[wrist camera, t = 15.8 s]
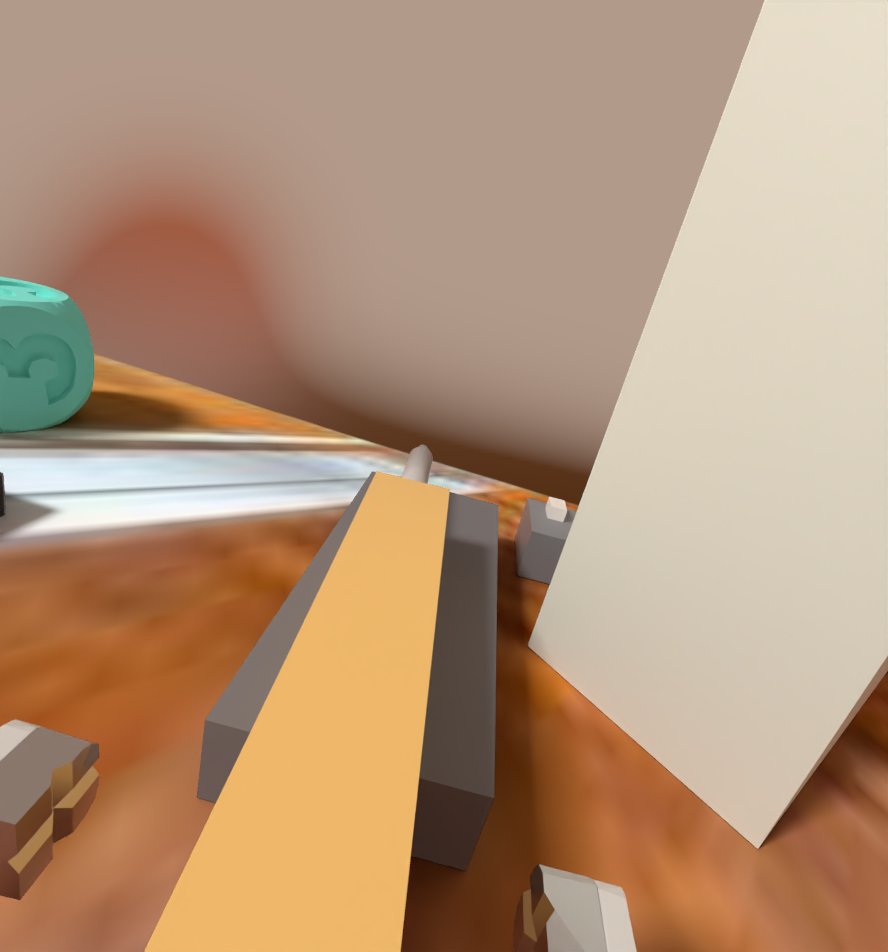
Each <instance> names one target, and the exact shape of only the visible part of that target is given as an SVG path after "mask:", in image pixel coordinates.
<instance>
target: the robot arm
mask: <svg viewBox="0 0 888 952" xmlns="http://www.w3.org/2000/svg"><path fill="white" fill-rule="evenodd" d="M98 758H99V744H98V743H94V742H91V741H88V740H84V739H81V738H77V737H74V736H71V735H67V734H64V733H60V732H57V731H54V730H50V729H47V728H44V727H41V726H37V725H34V724H30V723H27V722H23V721H19V720H16V719H15V720H13V721H11V722H9V723H7V724H5V725H3V726H1V727H0V895H1V896H5V897H9V898H13V899H17V900H21V899H22V897H23V896H24V895H25V893H26V892H27V891H28V890H29V888H30V887H31V886H32V884H33V883H34V882H35V881H36V879H37V878H38V877H39V876H40V874H41V873H42V872H43V870H44V869H45V868H46V867H47V865H48V864H49V863H50V861H51V860H52V859H53V849H54V843H55V842H57V841H59V840H61V839H62V838H64V837H66V836H68V835H70V834H71V833H73V832H74V830H75V829H76V828H77V826H78V825H79V824H80V823H81V821H82V820H83V819H84V817H85V816H86V814H87V812H88V810H89V808H90V806H91V804H92V803H93V801H94V799H95V796H96V792H97V789H98V786H99V774H98V773H97V771H96V770H95V769H94V767H93V766H92V765H93V764H94V763H95V762H96V761H97V759H98ZM530 881H531V889H529V890H527V891H525V892H523V893H522V896H521V898H520V901H519V903H518V906H517V911H516V916H515V921H514V933H513V952H637V949H636V944H635V939H634V934H633V929H632V925H631V920H630V915H629V910H628V905H627V900H626V895H625V893H624V892H623V890H622V888H621V887H619V886H617V885H613V884H609V883H605V882H601V881H597V880H593V879H591V878H590V877H586V876H582V875H578V874H574V873H570V872H566V871H563V870H559V869H555V868H551V867H547V866H543V865H537V866H536V867H535V868H534V870H533V872H532V874H531V876H530Z"/></svg>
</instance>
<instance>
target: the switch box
mask: <svg viewBox="0 0 888 952" xmlns="http://www.w3.org/2000/svg"><path fill="white" fill-rule="evenodd" d="M576 512H577V511H575V510H571V509H568V508H566V504H565V501H564V500H560V499H556V498H553V497H549V499H548V501H547V503H545V502H541V501H537V500H534V499H530V498H528V500H527V503H526V506H525V509H524V512H523V515H522V518H521V521H520V524H519V527H518V530H517V533H516V536H515V545H516V564H517V576H521V577H525V578H528V579H532V580H536V581H540V582H543V583H547V584H550V583H551V580H552V578H553V575H554V572H555V569H556V567H557V564H558V561H559V559H560V556H561V553H562V550H563V548H564V545H565V542H566V540H567V537H568V534H569V531H570V529H571V526H572V523H573V520H574V518H575V515H576Z"/></svg>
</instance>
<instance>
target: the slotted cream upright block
mask: <svg viewBox="0 0 888 952" xmlns="http://www.w3.org/2000/svg"><path fill="white" fill-rule="evenodd" d="M528 647H529V648H531V649H532V650H533V651H534V652H535V653H536V654H537V655H538V656H540V657H541V658H542V659H543V660H544V661H545V662H546V663H547V664H549V665H550V666H551V667H552V668H553V669H554V670H555V671H557V672H558V673H559V674H560V675H561V676H562V677H563V678H564V679H566V680H567V681H568V682H569V683H570V684H571V685H572V686H574V687H575V688H576V689H577V690H578V691H579V692H580V693H581V694H583V695H584V696H585V697H586V698H587V699H588V700H589V701H591V702H592V703H593V704H594V705H595V706H596V707H597V708H598V709H600V710H601V711H602V712H603V713H604V714H605V715H606V716H608V717H609V718H610V719H611V720H612V721H613V722H614V723H615V724H617V725H618V726H619V727H620V728H621V729H622V730H623V731H625V732H626V733H627V734H628V735H629V736H630V737H631V738H632V739H634V740H635V741H636V742H637V743H638V744H639V745H640V746H642V747H643V748H644V749H645V750H646V751H647V752H648V753H649V754H651V755H652V756H653V757H654V758H655V759H656V760H657V761H659V762H660V763H661V764H662V765H663V766H664V767H665V768H666V769H668V770H669V771H670V772H671V773H672V774H673V775H674V776H676V777H677V778H678V779H679V780H680V781H681V782H682V783H683V784H685V785H686V786H687V787H688V788H689V789H690V790H691V791H693V792H694V793H695V794H696V795H697V796H698V797H699V798H700V799H702V800H703V801H704V802H705V803H706V804H707V805H708V806H709V807H711V808H712V809H713V810H714V811H715V812H716V813H717V814H719V815H720V816H721V817H722V818H723V819H724V820H725V821H726V822H728V823H729V824H730V825H731V826H732V827H733V828H734V829H736V830H737V831H738V832H739V833H740V834H741V835H742V836H743V837H745V838H746V839H747V840H748V841H749V842H750V843H751V844H753V845H754V846H755V847H756V848H757V849H758V848H759V847H760V845H761V844H762V843H763V841H764V840H765V839H766V837H767V836H768V835H769V833H770V832H771V830H772V829H773V828H774V826H775V825H776V824H777V822H778V821H779V819H780V818H781V817H782V815H783V814H784V813H785V811H786V810H787V809H788V807H789V806H790V804H791V803H792V802H793V800H794V799H795V798H796V796H797V795H798V793H799V792H800V791H801V789H802V788H803V787H804V785H805V784H806V783H807V781H808V780H809V778H810V777H811V776H812V774H813V773H814V772H815V770H816V769H817V767H818V766H819V765H820V763H821V762H822V761H823V759H824V758H825V756H826V755H827V754H828V752H829V751H830V750H831V748H832V747H833V746H834V744H835V743H836V741H837V740H838V739H839V737H840V736H841V735H842V733H843V732H844V730H845V729H846V728H847V726H848V725H849V724H850V722H851V721H852V720H853V718H854V717H855V715H856V714H857V713H858V711H859V710H860V709H861V707H862V706H863V704H864V703H865V702H866V700H867V699H868V698H869V696H870V695H871V694H872V692H873V691H874V689H875V688H876V687H877V685H878V684H879V683H880V681H881V680H882V678H883V677H884V676H885V674H886V673H887V672H888V0H765V1H764V4H763V7H762V9H761V12H760V15H759V18H758V20H757V23H756V26H755V29H754V31H753V34H752V37H751V39H750V42H749V45H748V47H747V50H746V53H745V56H744V58H743V61H742V64H741V66H740V69H739V72H738V75H737V77H736V80H735V83H734V86H733V88H732V91H731V94H730V97H729V99H728V102H727V105H726V107H725V110H724V113H723V115H722V118H721V121H720V124H719V126H718V129H717V132H716V135H715V137H714V140H713V143H712V146H711V148H710V151H709V154H708V156H707V159H706V162H705V164H704V167H703V170H702V173H701V175H700V178H699V181H698V183H697V186H696V189H695V192H694V194H693V197H692V200H691V202H690V206H689V208H688V211H687V213H686V216H685V219H684V221H683V224H682V227H681V230H680V232H679V235H678V238H677V240H676V243H675V246H674V249H673V251H672V254H671V257H670V260H669V262H668V265H667V268H666V271H665V273H664V276H663V279H662V281H661V284H660V287H659V289H658V292H657V295H656V297H655V300H654V303H653V306H652V308H651V311H650V314H649V317H648V319H647V322H646V325H645V327H644V330H643V333H642V336H641V338H640V341H639V344H638V346H637V349H636V352H635V355H634V357H633V360H632V363H631V365H630V368H629V371H628V374H627V377H626V379H625V382H624V385H623V387H622V390H621V393H620V395H619V398H618V401H617V404H616V407H615V409H614V412H613V414H612V417H611V420H610V423H609V425H608V428H607V431H606V433H605V436H604V439H603V442H602V444H601V447H600V450H599V453H598V455H597V458H596V461H595V463H594V466H593V469H592V472H591V474H590V477H589V480H588V483H587V485H586V488H585V491H584V494H583V496H582V499H581V502H580V504H579V507H578V510H577V512H576V515H575V518H574V520H573V523H572V526H571V529H570V531H569V534H568V537H567V540H566V542H565V545H564V548H563V550H562V553H561V556H560V559H559V561H558V564H557V567H556V569H555V572H554V575H553V578H552V580H551V583H550V586H549V588H548V591H547V594H546V597H545V599H544V602H543V605H542V608H541V610H540V613H539V616H538V618H537V621H536V624H535V627H534V629H533V632H532V635H531V637H530V640H529V643H528Z"/></svg>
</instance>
